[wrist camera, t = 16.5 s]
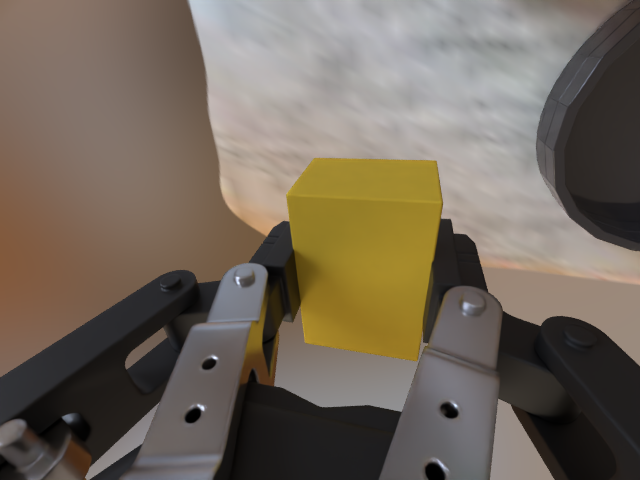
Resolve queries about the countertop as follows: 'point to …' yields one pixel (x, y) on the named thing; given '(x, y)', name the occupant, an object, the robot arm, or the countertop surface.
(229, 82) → the countertop surface
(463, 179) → the countertop surface
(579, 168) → the pan
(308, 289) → the sponge
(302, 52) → the countertop surface
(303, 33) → the countertop surface
